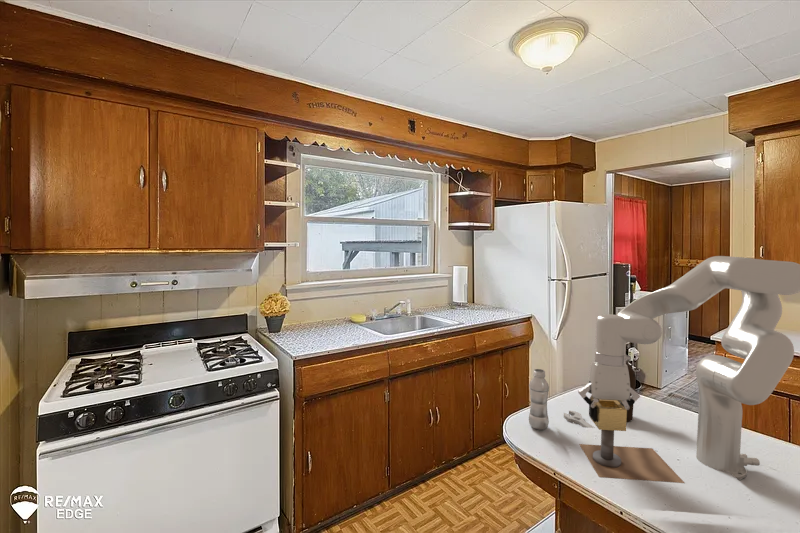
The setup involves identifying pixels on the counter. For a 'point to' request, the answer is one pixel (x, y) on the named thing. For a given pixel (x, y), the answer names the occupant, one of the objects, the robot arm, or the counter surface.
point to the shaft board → (627, 461)
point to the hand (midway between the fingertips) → (607, 420)
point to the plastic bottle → (538, 401)
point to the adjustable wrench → (577, 419)
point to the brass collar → (610, 415)
